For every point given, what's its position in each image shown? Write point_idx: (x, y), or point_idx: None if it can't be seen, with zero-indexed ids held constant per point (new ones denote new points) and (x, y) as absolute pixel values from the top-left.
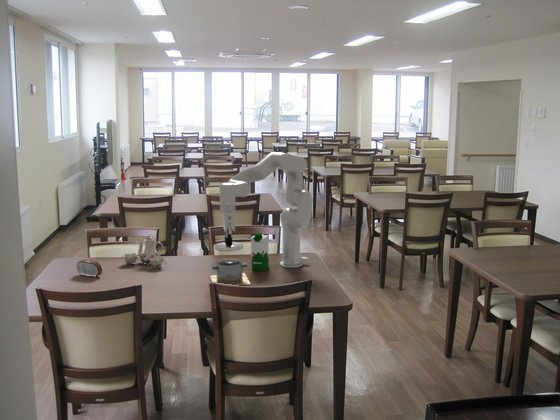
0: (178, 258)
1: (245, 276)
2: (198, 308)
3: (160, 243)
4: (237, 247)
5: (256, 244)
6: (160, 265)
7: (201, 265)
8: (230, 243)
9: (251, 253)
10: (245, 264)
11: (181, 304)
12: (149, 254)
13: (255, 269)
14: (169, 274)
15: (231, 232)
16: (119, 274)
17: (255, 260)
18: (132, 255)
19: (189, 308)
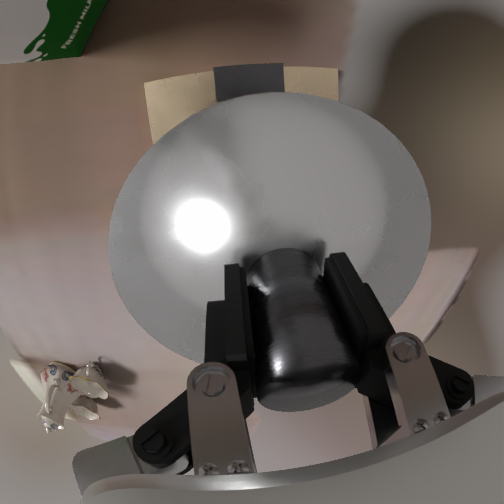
0: (12, 324)
1: (209, 76)
2: (457, 266)
3: (48, 406)
4: (415, 190)
5: (4, 9)
6: (94, 369)
7: (41, 273)
8: (366, 287)
9: (19, 60)
10: (277, 74)
11: (418, 303)
12: (71, 396)
13: (86, 38)
14: (147, 351)
15: (444, 410)
16: (159, 410)
17: (68, 29)
18: (72, 405)
19: (447, 284)
